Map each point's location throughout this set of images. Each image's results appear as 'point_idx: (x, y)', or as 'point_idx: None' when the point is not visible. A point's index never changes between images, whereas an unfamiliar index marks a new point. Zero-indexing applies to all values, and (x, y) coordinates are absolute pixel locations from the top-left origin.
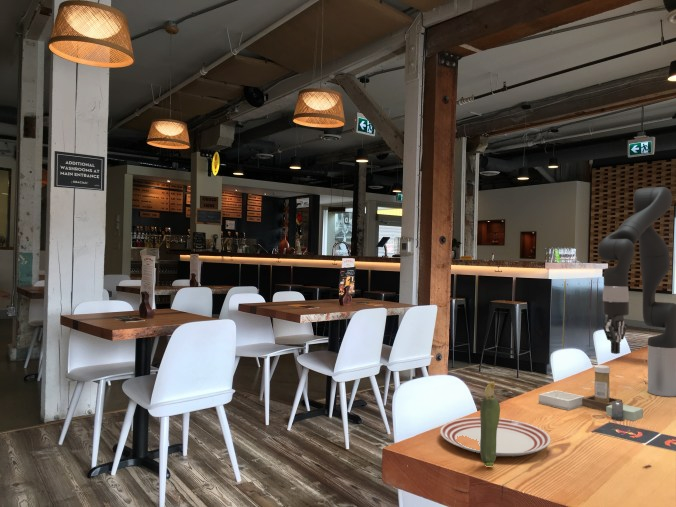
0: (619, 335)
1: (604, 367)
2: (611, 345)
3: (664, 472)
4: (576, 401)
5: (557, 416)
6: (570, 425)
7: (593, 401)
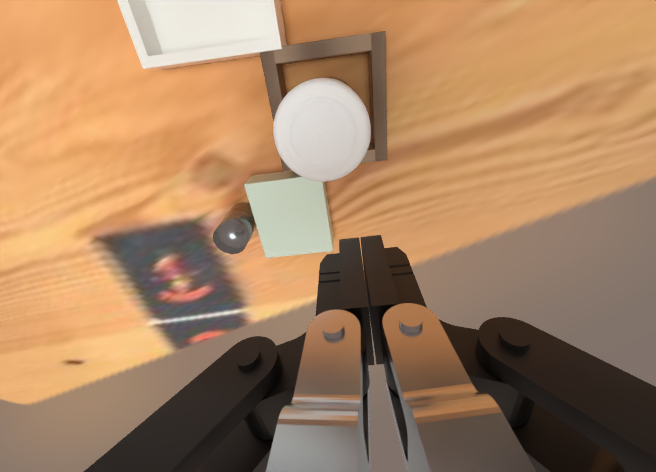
0: (405, 457)
1: (297, 170)
2: (319, 295)
3: (84, 378)
4: (212, 59)
5: (74, 101)
6: (64, 184)
7: (271, 108)
